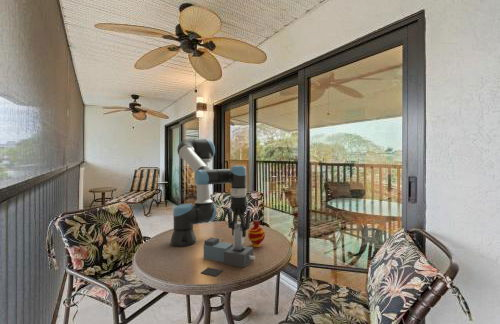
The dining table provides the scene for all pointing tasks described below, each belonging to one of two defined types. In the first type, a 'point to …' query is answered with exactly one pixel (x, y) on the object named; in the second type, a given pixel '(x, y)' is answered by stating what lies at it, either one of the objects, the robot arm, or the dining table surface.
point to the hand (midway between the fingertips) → (238, 242)
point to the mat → (211, 271)
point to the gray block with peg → (238, 237)
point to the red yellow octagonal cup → (256, 234)
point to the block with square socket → (227, 253)
